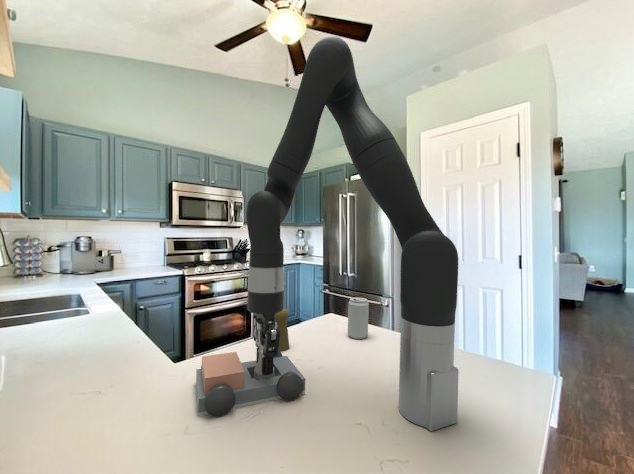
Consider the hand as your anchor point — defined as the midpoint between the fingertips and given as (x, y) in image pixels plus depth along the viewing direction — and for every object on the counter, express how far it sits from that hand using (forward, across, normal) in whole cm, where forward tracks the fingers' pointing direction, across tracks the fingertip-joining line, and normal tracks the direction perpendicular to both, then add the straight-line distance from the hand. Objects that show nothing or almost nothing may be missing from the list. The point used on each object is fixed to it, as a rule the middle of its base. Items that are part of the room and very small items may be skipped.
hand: (264, 368), depth 62 cm
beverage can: (+4, +19, -35) cm, 40 cm away
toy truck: (+4, 0, +3) cm, 5 cm away
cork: (+4, +19, -9) cm, 21 cm away
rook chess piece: (+2, 0, 0) cm, 2 cm away
